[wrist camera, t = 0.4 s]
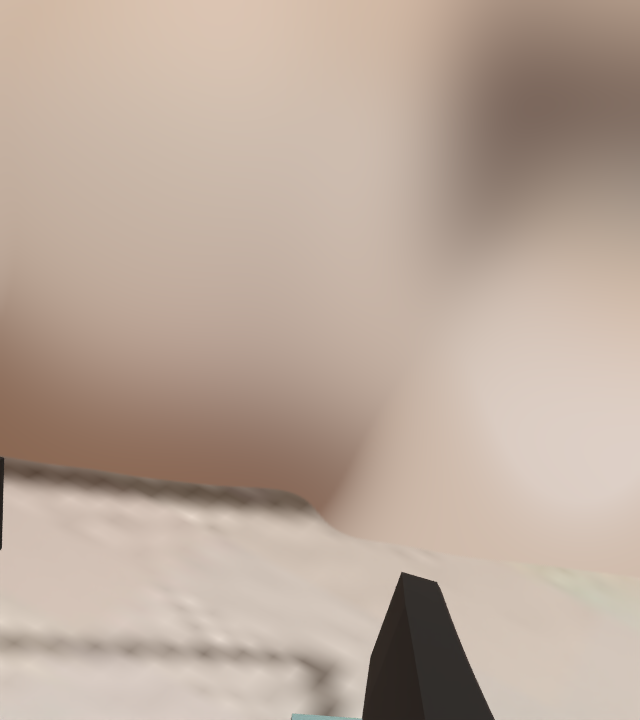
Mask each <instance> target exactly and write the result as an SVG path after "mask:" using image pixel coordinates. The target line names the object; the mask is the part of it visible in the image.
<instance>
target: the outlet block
mask: <svg viewBox="0 0 640 720" xmlns="http://www.w3.org/2000/svg"><path fill="white" fill-rule="evenodd" d="M291 720H362V719H358V718H345V717H331V716H318V715H304V714H292V717H291Z"/></svg>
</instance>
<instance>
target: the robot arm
mask: <svg viewBox="0 0 640 720" xmlns="http://www.w3.org/2000/svg"><path fill="white" fill-rule="evenodd" d="M3 483H4V458H3V457H0V550H1V549H2V520H3ZM362 720H495V719H494V717H493V715H492V713H491V711H490V709H489V707H488V704H487V702H486V700H485V698H484V695H483V693H482V691H481V689H480V687H479V684H478V682H477V680H476V678H475V675H474V673H473V671H472V669H471V666H470V664H469V662H468V659H467V657H466V654H465V652H464V650H463V647H462V645H461V642H460V640H459V637H458V635H457V632H456V630H455V627H454V624H453V622H452V619H451V616H450V614H449V611H448V608H447V606H446V603H445V600H444V597H443V595H442V592H441V589H440V587H439V585H438V584H437V582H435V581H431V580H428V579H424V578H421V577H417V576H414V575H410V574H407V573H403V572H401V575H400V578H399V581H398V583H397V586H396V589H395V592H394V594H393V597H392V600H391V602H390V605H389V608H388V611H387V613H386V616H385V619H384V622H383V624H382V627H381V630H380V633H379V635H378V638H377V641H376V643H375V646H374V649H373V652H372V654H371V658H370V665H369V672H368V679H367V686H366V693H365V701H364V708H363V716H362Z"/></svg>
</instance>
